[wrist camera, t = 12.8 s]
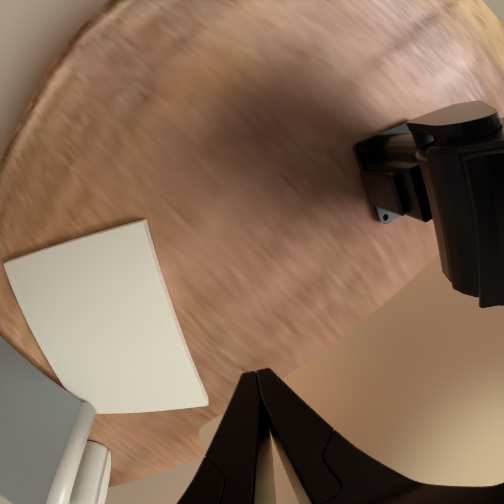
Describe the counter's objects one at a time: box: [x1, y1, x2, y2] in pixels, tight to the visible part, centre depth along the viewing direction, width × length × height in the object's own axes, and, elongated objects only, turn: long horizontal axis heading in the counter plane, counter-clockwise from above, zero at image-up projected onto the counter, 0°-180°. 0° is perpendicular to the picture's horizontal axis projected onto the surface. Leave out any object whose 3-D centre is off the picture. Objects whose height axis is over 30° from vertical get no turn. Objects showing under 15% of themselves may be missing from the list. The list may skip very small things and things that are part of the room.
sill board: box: [3, 219, 208, 414], centre depth 21 cm, size 14×17×1 cm
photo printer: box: [68, 441, 111, 504], centre depth 21 cm, size 10×4×12 cm, turn 158°
